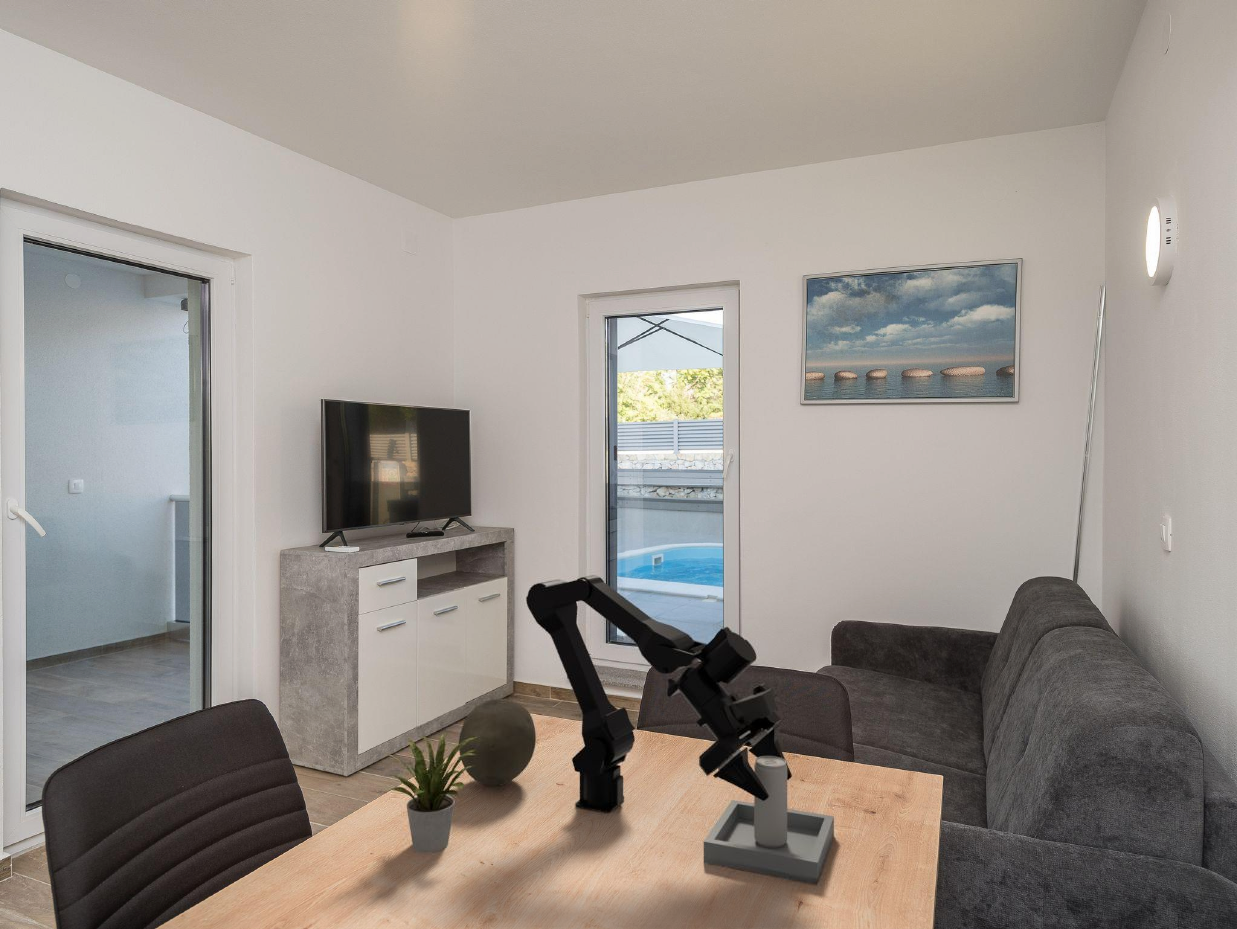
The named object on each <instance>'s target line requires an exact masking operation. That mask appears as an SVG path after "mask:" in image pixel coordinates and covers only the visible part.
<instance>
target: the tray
mask: <svg viewBox="0 0 1237 929" xmlns="http://www.w3.org/2000/svg"><path fill="white" fill-rule="evenodd" d="M834 836H835V816H834V815H828V814H821V813H815V812H810V811H804V810H797V809H793V808H792V809H791V808H787V842H786V843H785V844H784V845H783V846H782V847H779V848H767V847H763V846H761V845H760V844H758V843H757V841H756V840H755V837H754V803H753V802H749V801H742V800H735V799H732V800H731V801H730V802H729V804H727V807H726V808H725V810H724V811H723V813H722V814H721V815H720V817H719V818H718V820H717V821H716V823H715V824H714V826H713V827H712V828H711V829H710V832H709V833H708V834H707V836H706V838H705V839H704V840H703V863H704V864H708V865H713V866H714V865H715V866H719V867H725V868H729V869H734V870H739V871H743V872H744V871H745V872H750V873H755V874H759V875H765V876H769V877H774V876H775V878H781V879H785V880H791V881H795V882H801V883H806V884H811V885H816V886H818V885H819V882H820V879H821V875H822V873H823V870H824V868H825V864H826V860H827V858H828V855H829V852H830V849H831V846H832V842H833V841H834V840H833V839H834V838H835V837H834Z"/></svg>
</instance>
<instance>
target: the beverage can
mask: <svg viewBox="0 0 1237 929" xmlns="http://www.w3.org/2000/svg"><path fill="white" fill-rule="evenodd" d="M785 760H786V759H785ZM785 760H784V759H782V758H780V757H776V756H761V757H758V758H757V757H756V758H755V760H754V761H755V762H754V765H753V766H754V769H753V770H754V772H755V773H756V775H757V777H758V778H759V780H760V781H761V783H762V784H763V786H764V788H765V789H766V791H767V793H768V795H769V798H767V799H766V800H765V801H762V800H761V799H759V798H757V797H755V796H753V797H754V798H753V800H754V837H755V840H756V841H757V843H758V844H760V845H761V846H763V847H767V848H779V847H782V846H783V845H784V844H785V843H786V842H787V809H788V780H787V765H788V764H787V765H786V762H787V760H786V761H785Z"/></svg>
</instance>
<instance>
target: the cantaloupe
mask: <svg viewBox="0 0 1237 929" xmlns="http://www.w3.org/2000/svg"><path fill="white" fill-rule="evenodd" d="M536 735H537V734H536V726H535V723H534V719H533V717H532V715H531V713H530V712H529V710H528V709H527V708H526V707H525V706H524V705H522V704H521V703H520V702H517V701H513V700H511V699H505V698H494V699H493V698H492V699H489V700H486V701H484V702H482V703H480V704H478V705H476V706H475V707H474V708H473V709H471V711H470V712H469V713H468V715H467V716H466V718H465V719H464V722H463V725H462V727H461V731H460V734H459V738H458V745H459V744H460V743H461V742H463V741H464V740H466V739H469V738H473V737H477V738H475V739H472V740H470V741H468V742H467V743H466V744H465V745H464V746H463V747H462V748H461V749H460V750H459V751H458V752H459V757H460V756H461V755H463V754H464V753H466V752H468V751H471V750H475V751H473V752H470V753H472V754H477V755H466V756H465V757H464V758H463V759H462V760H461V762H462V765H463V767H464V768H465V767H468V766H472V767H470V768H468V769H466V770H465V772H466V774H468V775H469V776H470V777H471V778H472V779H473V780H474V781H475V782H477V783H478V784H480V785H483V786H486V787H499V786H503V785H506V784H508V783H509V782H511V781H513V780H514V779H516V778H517V777H518V776H520V775H521V773H523V772H524V770H525V769H526V768H527V767H528V765H529V763H530V762H531V760H532V758H533V756H534V752H535V748H536V741H537V740H536V739H537V737H536Z"/></svg>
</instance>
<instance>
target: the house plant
mask: <svg viewBox="0 0 1237 929" xmlns="http://www.w3.org/2000/svg"><path fill="white" fill-rule="evenodd" d="M421 735H422V737H423V740H424V742H425V744H426V746H427V750H428V758H429V765H428V768H427V764H426V760H425V756H424V754H423V753H424V751H425V749H424V748H423V749H422V750H421V749H420V747H418V746H417V745H416V743H415V742H414V741H413V740H412V739H409V738H407V740H408V742H409V743H408V744H409V746H410V748H411V749H410V750H411V751H412V754H413V757H414V766H412V765H410V763H409V764H408V765H409V767H408V765H407V764H406V763H405V762H404V761H403V760H402V759H400V758H398V757H396V756H394V755H392V754H390V753H385V755H386V756H389V757H392V758H394V759H395V760H397V761H398V762H400V763H401V765H403V766H404V767H405V768H406V770H407V771H408V772H409V773H410V774H411V776H412V777H413V779H414V780H415V782H416V783H417V784H418V787H417V785H415V784H414V783H412V781H410V780H408V779H407V778H404V777H403V776H400V775H396V774H394V775H393V776H394V777H395V779H398V780H399V781H400V782H401V783H402V784H403V785H404V786H406V787H407V788H408V789H409V790H411V792H410V791H409V790H407V788H405V787H402V786H396V787H393V788H391V789H390V791H394V792H395V791H396V792H400V793H403V794H405V795H407V796H409V797H410V798H411V799H410V800H409V801H408V802H407V803H406V806H405V807H406V812H407V817H408V824H409V825H408V826H409V831H410V837H411V843H412V844H411V845H412V848H413V850H414V851H416V852H419V853H424V854H426V853H436V852H439V851H442V850H444V849H445V848H447V847H448V845H449V840H450V834H451V828H452V822H453V817H454V816H453V815H454V812H455V810H454V809H455V803H456V801H455V798H454V797H452V796H450V795H455V796H457V797H460V795H459V793H458V791H457V790H455V789H451V788H452V787H453V788H454V787H456V788H459V789H461V791H464V786H465V784H464V783H463V782H462V781H458V782H456V781H457V779H459V777H460V776H461V775H462V774H463V775H465V773H464V772H466V769H468V768H470V767H472V766H468V767H465V768H462V769H460V770H456V768H457V766H458V765H459V764H460V763H461V762H462V759H463V758H464V757H465V756H466V755H477V754H472V753H470V752H473V751H475V750H471V751H468V752H466V753H464V754H463V755H461V756H460V755H459V756H458V757H457V759H456V761H455V762H453V763H452V764H451V762H452V761H453V759H454V757H455V756H456V754H457V753H458V752H459V750H460V749H461V748H462V747H463V746H464V745H465V744H466V743H467V742H468V741H470V740H472V739H475V738H477V737H473V738H469V739H466V740H464V741H463V742H461V743H460V744H459V743H458V744H457V745H456V746H455V748H454V749H453V750H451V752H450V754H449V755H448V756H446V757H444V755H445V753H446V751H449V750H448V749H446V740H445V739H446V738H445V737H446V735H445V733H444V732H443V733H442V734H441V736H440V737H439V742H438V745H437V751H436V755H434V750H433V746H432V744H431V743H430V740H428V738H427V737H426V735H424V734H423V733H422V732H421ZM446 759H447V760H446ZM445 760H446V762H445ZM450 764H451V765H450ZM449 765H450V766H449ZM453 775H454V777H453V778H452V779H451V777H452V776H453ZM450 779H451V781H450ZM449 781H450V782H449ZM448 782H449V784H448ZM447 784H448V785H447ZM412 793H413V794H414V795H413V794H412Z"/></svg>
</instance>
